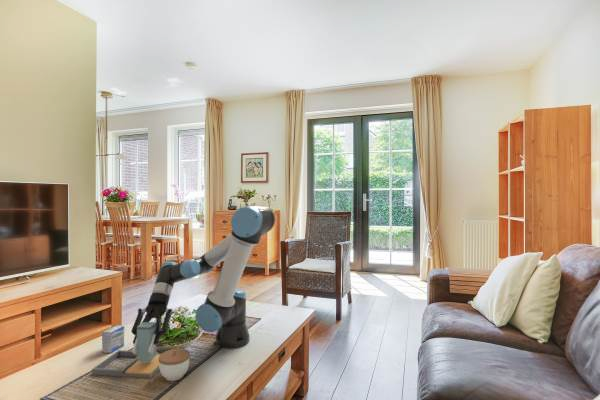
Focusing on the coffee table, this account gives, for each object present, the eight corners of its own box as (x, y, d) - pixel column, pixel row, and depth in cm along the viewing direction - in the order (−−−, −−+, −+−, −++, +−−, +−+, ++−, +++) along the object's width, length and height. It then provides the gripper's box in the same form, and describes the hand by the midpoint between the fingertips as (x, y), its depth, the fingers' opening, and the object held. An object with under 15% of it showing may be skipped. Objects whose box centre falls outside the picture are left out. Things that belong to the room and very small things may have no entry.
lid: (171, 357, 137) (171, 354, 137) (151, 377, 122) (151, 374, 122) (145, 356, 138) (145, 353, 138) (122, 376, 123) (122, 372, 123)
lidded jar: (158, 387, 116) (158, 359, 116) (158, 372, 126) (158, 346, 126) (191, 380, 120) (191, 354, 120) (188, 366, 130) (188, 342, 130)
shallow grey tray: (146, 356, 138) (146, 351, 138) (123, 376, 123) (123, 370, 123) (118, 355, 139) (118, 350, 139) (91, 374, 124) (92, 369, 124)
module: (156, 355, 132) (156, 322, 132) (149, 361, 127) (149, 327, 127) (143, 355, 133) (143, 321, 133) (136, 361, 128) (136, 326, 128)
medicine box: (111, 353, 140) (111, 332, 140) (101, 352, 141) (101, 331, 141) (124, 345, 148) (124, 325, 148) (115, 344, 149) (115, 324, 149)
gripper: (184, 300, 145) (169, 357, 129) (141, 300, 145) (121, 356, 129) (180, 291, 140) (164, 349, 124) (135, 291, 140) (113, 348, 124)
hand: (142, 352), depth 126 cm, fingers closed on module, 5 cm apart
